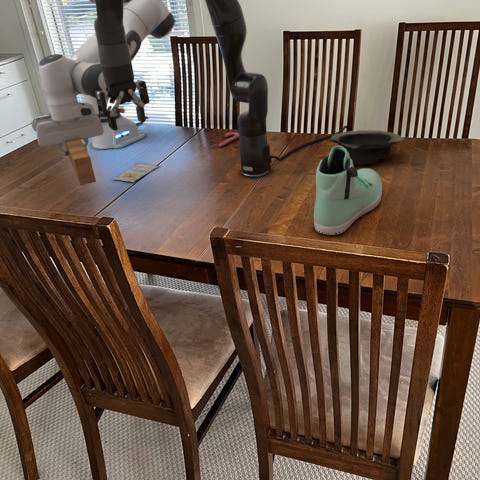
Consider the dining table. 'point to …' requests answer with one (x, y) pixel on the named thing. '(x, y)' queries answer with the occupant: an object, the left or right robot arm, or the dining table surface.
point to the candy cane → (235, 136)
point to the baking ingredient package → (135, 172)
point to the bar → (80, 161)
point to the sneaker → (343, 192)
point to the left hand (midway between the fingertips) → (76, 153)
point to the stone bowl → (367, 145)
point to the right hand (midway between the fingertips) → (128, 125)
